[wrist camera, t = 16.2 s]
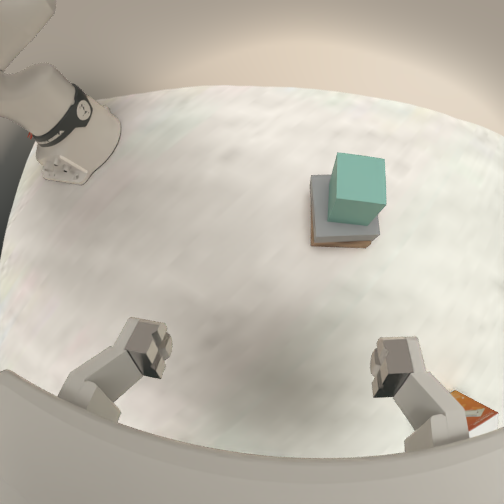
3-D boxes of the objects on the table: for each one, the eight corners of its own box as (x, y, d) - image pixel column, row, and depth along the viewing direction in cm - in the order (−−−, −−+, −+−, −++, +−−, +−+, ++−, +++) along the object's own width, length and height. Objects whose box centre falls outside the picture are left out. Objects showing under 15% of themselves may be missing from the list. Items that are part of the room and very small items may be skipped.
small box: (455, 389, 33) (500, 411, 20) (456, 420, 31) (496, 448, 19) (413, 408, 33) (450, 441, 21) (415, 440, 32) (448, 477, 19)
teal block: (327, 221, 34) (336, 198, 26) (329, 183, 34) (337, 152, 27) (367, 226, 33) (386, 204, 25) (367, 188, 34) (384, 158, 26)
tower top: (314, 242, 37) (316, 236, 33) (309, 185, 38) (311, 175, 35) (372, 240, 36) (380, 234, 32) (365, 184, 37) (371, 174, 34)
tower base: (310, 246, 40) (312, 241, 37) (311, 193, 42) (312, 184, 38) (365, 248, 39) (371, 243, 36) (362, 196, 40) (368, 187, 37)
